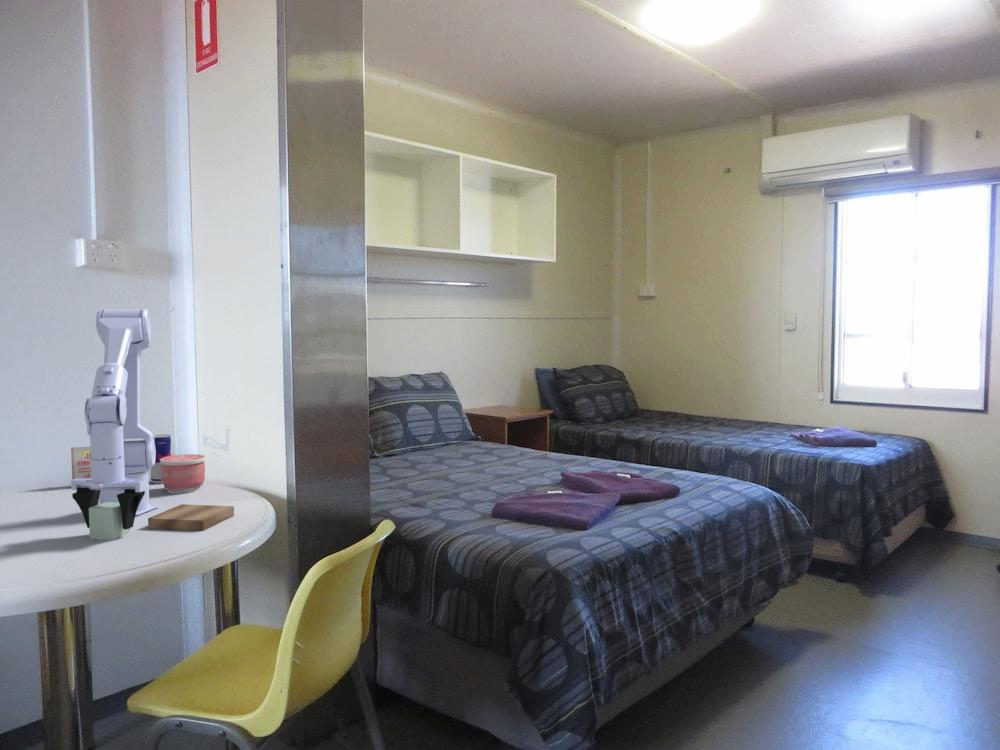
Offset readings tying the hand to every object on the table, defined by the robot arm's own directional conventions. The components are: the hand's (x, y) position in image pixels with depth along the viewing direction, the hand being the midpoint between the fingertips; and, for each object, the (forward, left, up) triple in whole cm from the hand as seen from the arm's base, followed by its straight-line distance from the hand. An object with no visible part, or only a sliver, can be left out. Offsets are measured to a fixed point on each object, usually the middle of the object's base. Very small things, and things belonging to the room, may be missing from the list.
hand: (110, 527), depth 148 cm
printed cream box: (-36, +41, -2) cm, 55 cm away
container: (-9, +40, -2) cm, 41 cm away
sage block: (0, 0, -2) cm, 2 cm away
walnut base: (+10, +12, -2) cm, 16 cm away
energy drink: (-20, +48, -2) cm, 52 cm away
